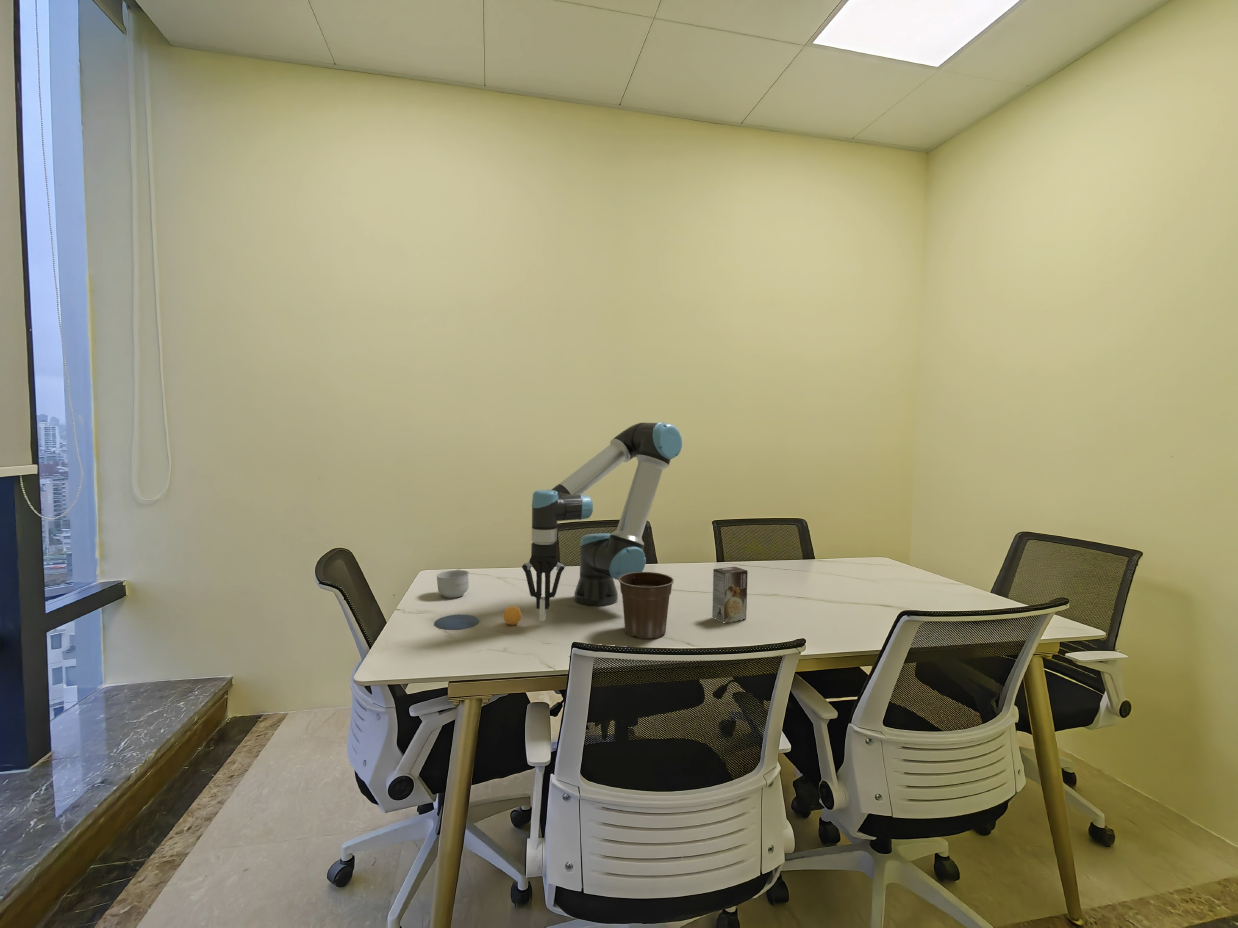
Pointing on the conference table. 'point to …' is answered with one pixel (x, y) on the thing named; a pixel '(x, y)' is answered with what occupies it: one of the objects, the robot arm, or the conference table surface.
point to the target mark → (456, 622)
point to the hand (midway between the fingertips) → (542, 619)
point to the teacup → (453, 583)
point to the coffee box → (729, 594)
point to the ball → (512, 615)
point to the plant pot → (645, 603)
